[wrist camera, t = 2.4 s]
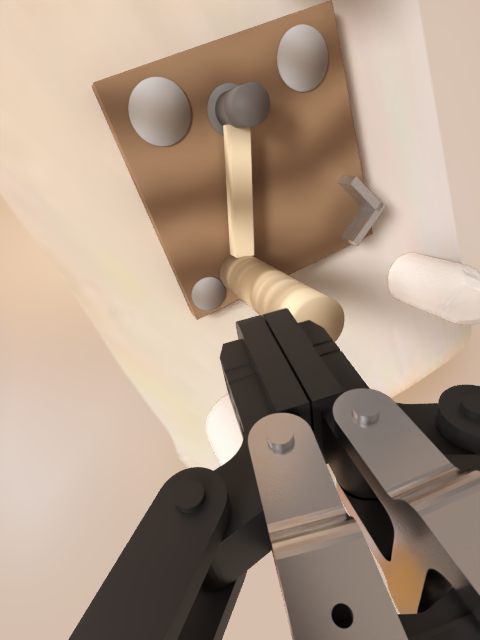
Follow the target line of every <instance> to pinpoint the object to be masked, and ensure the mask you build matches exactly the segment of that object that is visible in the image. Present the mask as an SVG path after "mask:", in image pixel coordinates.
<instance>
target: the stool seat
mask: <svg viewBox="0 0 480 640" xmlns="http://www.w3.org/2000/svg"><path fill="white" fill-rule="evenodd" d="M248 82H256V83H259V84H260V85H262V86H263V87H264V88H265V89H266V91H267V92H268V95H269V98H270V112H269V114H268V117H267V118H266V120H265V121H264V122H263V123H261V124H260V125H257V126H252V127H250V132H251V165H252V198H253V231H254V255H253V257H255V258H257V259H259V260H261V261H263V262H265V263H266V264H268V265H270V266H272V267H274V268H276V269H278V270H279V271H281V272H283V273H285V274H287V275H289V274H291V273H293V272H295V271H297V270H299V269H302V268H304V267H306V266H308V265H310V264H312V263H314V262H316V261H318V260H320V259H322V258H324V257H326V256H328V255H330V254H332V253H334V252H336V251H338V250H340V249H342V248H344V247H346V246H348V245H350V244H351V243H347V242H345V241H344V240H342V239H341V236H342V235H343V233H344V232H345V230H346V229H347V228H348V226H349V225H350V223H351V222H352V220H353V219H354V218H355V216H356V215H357V213H358V212H359V210H360V209H361V208H362V207H361V206H360V205H359V204H358V203H357V202H356V201H355V200H354V199H353V198H352V197H351V196H350V195H349V194H348V193H347V192H346V191H345V190H344V189H343V188H342V187H341V186H340V185H339V184H338V183H337V182H338V181H339V179H340V178H341V176H342V175H349V176H357V177H358V178H359V180H360V181H361V182H362V183H363V184H364V181H363V175H362V170H361V164H360V158H359V152H358V147H357V141H356V135H355V130H354V124H353V118H352V112H351V107H350V101H349V95H348V89H347V84H346V78H345V72H344V66H343V61H342V55H341V49H340V43H339V38H338V32H337V26H336V21H335V15H334V9H333V3H332V0H330V1H327V2H325V3H322V4H319V5H316V6H313V7H310V8H307V9H304V10H301V11H299V12H296V13H293V14H290V15H287V16H284V17H281V18H278V19H275V20H273V21H270V22H267V23H264V24H261V25H258V26H255V27H252V28H250V29H247V30H244V31H241V32H238V33H235V34H232V35H229V36H226V37H224V38H221V39H218V40H215V41H212V42H209V43H206V44H203V45H200V46H198V47H195V48H192V49H189V50H186V51H183V52H180V53H177V54H175V55H172V56H169V57H166V58H163V59H160V60H157V61H154V62H151V63H149V64H146V65H143V66H140V67H137V68H134V69H131V70H128V71H125V72H123V73H120V74H117V75H114V76H111V77H108V78H105V79H102V80H100V81H97V82H94V83H93V85H92V89H93V91H94V93H95V95H96V98H97V100H98V102H99V104H100V107H101V109H102V111H103V114H104V116H105V118H106V120H107V123H108V125H109V127H110V129H111V132H112V134H113V136H114V138H115V141H116V143H117V145H118V148H119V150H120V152H121V154H122V157H123V159H124V161H125V163H126V166H127V168H128V170H129V172H130V175H131V177H132V179H133V182H134V184H135V186H136V188H137V191H138V193H139V195H140V197H141V200H142V202H143V204H144V206H145V209H146V211H147V213H148V216H149V218H150V220H151V222H152V225H153V227H154V229H155V231H156V234H157V236H158V238H159V240H160V243H161V245H162V247H163V249H164V252H165V254H166V256H167V259H168V261H169V263H170V265H171V268H172V270H173V272H174V274H175V277H176V279H177V281H178V283H179V286H180V288H181V290H182V293H183V295H184V297H185V299H186V302H187V304H188V306H189V308H190V311H191V313H192V314H193V315H194V316H195V318H196V319H197V320H198V319H200V318H202V317H204V316H206V315H208V314H210V313H212V312H214V311H216V310H218V309H220V308H222V307H224V306H226V305H228V304H230V303H232V302H234V301H237V300H239V298H238V297H237V296H236V295H235V294H233V293H232V292H231V291H230V290H229V289H227V288H226V287H225V286H224V285H223V283H222V281H221V278H220V269H221V266H222V263H223V262H224V260H225V259H226V258H227V257H228V256H229V255H230V243H229V224H228V205H227V187H226V168H225V150H224V131H223V126H222V125H221V124H220V123H219V121H218V119H217V117H216V114H215V105H216V101H217V99H218V97H219V96H220V95H221V94H222V93H223V92H225V91H228V90H230V89H233V88H235V87H238V86H240V85H243V84H245V83H248ZM371 234H373V233H372V227H371V228H370V229H369V231H368V232H367V234H366V235H365V237H367V236H369V235H371Z"/></svg>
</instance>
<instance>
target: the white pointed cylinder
mask: <svg viewBox="0 0 480 640" xmlns="http://www.w3.org/2000/svg"><path fill="white" fill-rule="evenodd" d="M388 287H389V290H390V293H391V294H392V296H393V297H394V298H396V299H398V300H400V301H402V302H404V303H407V304H409V305H412V306H414V307H416V308H419V309H421V310H424V311H426V312H428V313H430V314H433V315H435V316H437V317H440V318H442V319H445V320H448V321H450V322H453V323H456V324H467V325H474V324H478V323H480V272H479V271H478V270H476V269H475V268H473V267H470V266H467V265H464V264H460V263H456V262H451V261H447V260H442V259H438V258H434V257H430V256H425V255H422V254H418V253H406V254H404V255H402V256H400V257H399V258H398V259H397V260H396V261H395V262H394V263H393V265H392V267H391V268H390V271H389V274H388Z"/></svg>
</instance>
